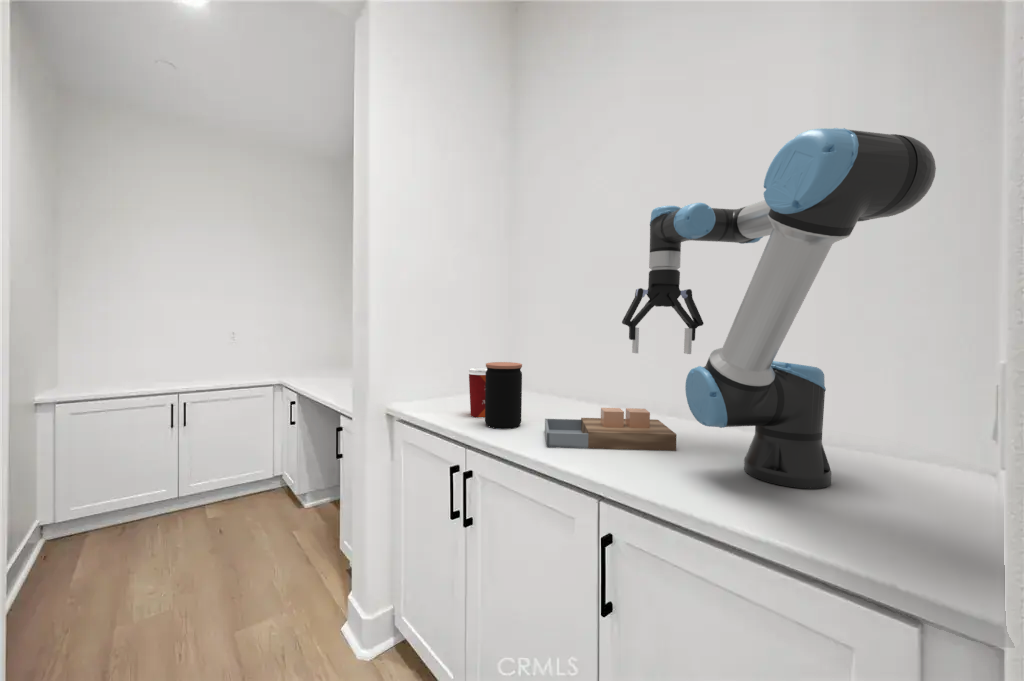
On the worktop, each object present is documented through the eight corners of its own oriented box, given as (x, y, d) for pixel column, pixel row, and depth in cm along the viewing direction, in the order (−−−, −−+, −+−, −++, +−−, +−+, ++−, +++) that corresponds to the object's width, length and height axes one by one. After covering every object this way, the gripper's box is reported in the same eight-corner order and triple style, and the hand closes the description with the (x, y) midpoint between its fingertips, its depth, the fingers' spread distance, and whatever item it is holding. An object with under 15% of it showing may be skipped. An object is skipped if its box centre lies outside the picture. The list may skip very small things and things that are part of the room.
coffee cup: (492, 418, 141) (493, 370, 140) (465, 418, 141) (466, 370, 140) (493, 413, 149) (494, 367, 149) (468, 412, 150) (469, 367, 149)
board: (676, 450, 109) (676, 434, 109) (588, 448, 110) (588, 432, 110) (657, 433, 125) (657, 419, 125) (580, 432, 126) (581, 417, 126)
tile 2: (649, 428, 115) (649, 412, 115) (629, 427, 115) (629, 412, 115) (644, 423, 120) (645, 408, 120) (625, 423, 120) (625, 408, 120)
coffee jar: (522, 421, 138) (523, 362, 137) (519, 430, 127) (520, 366, 126) (487, 420, 139) (488, 361, 138) (481, 428, 128) (482, 365, 127)
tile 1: (623, 427, 115) (623, 411, 115) (603, 427, 115) (604, 411, 115) (619, 423, 120) (620, 408, 120) (600, 422, 120) (600, 407, 120)
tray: (588, 448, 110) (588, 434, 110) (546, 447, 111) (547, 433, 110) (580, 432, 126) (581, 419, 126) (544, 431, 126) (544, 418, 126)
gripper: (705, 272, 120) (702, 352, 121) (611, 270, 119) (609, 351, 120) (719, 269, 112) (716, 355, 113) (619, 267, 111) (617, 353, 112)
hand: (661, 353), depth 117 cm, fingers open, 13 cm apart
